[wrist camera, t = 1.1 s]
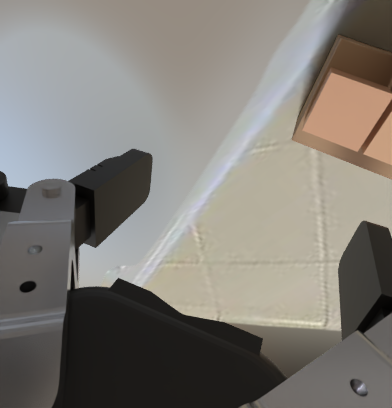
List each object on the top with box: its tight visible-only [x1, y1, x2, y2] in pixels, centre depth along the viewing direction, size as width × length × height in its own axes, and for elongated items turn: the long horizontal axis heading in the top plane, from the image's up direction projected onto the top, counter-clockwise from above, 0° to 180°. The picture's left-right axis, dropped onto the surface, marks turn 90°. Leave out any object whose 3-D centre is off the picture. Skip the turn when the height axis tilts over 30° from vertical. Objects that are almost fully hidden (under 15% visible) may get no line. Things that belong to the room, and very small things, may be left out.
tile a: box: [302, 67, 392, 152], centre depth 21 cm, size 4×4×2 cm
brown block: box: [292, 34, 392, 179], centre depth 24 cm, size 9×8×6 cm
